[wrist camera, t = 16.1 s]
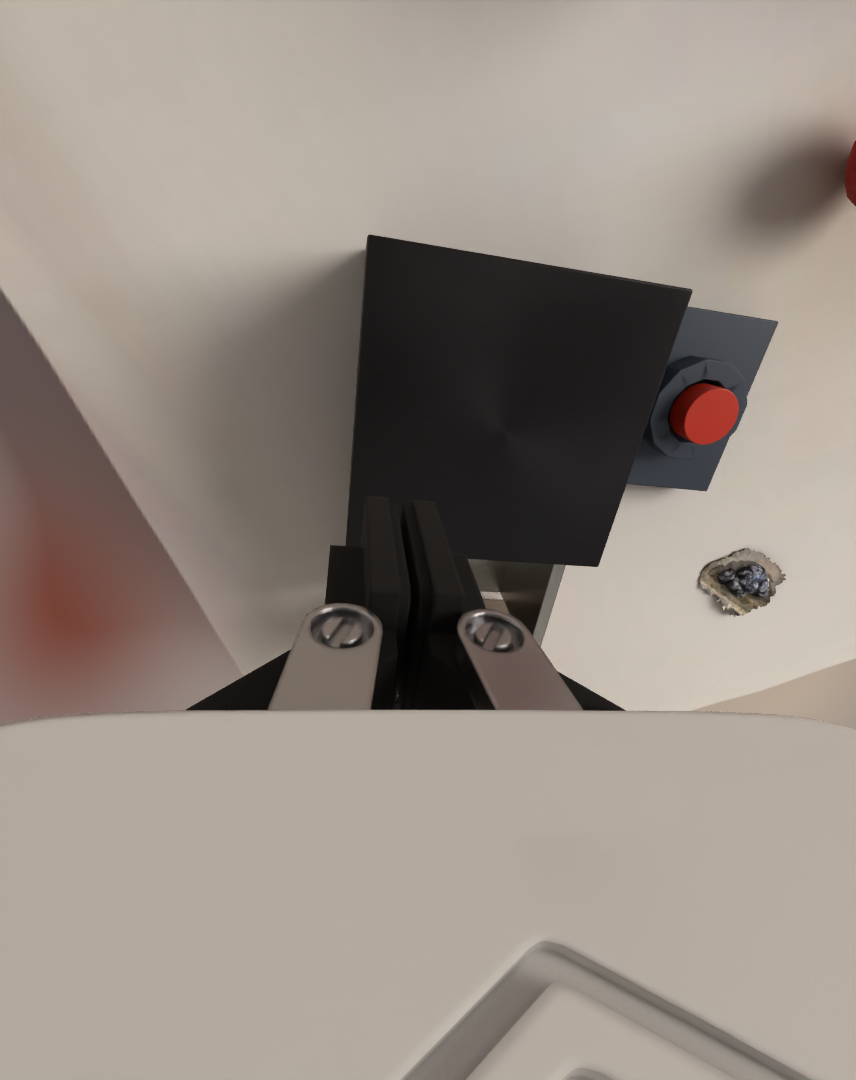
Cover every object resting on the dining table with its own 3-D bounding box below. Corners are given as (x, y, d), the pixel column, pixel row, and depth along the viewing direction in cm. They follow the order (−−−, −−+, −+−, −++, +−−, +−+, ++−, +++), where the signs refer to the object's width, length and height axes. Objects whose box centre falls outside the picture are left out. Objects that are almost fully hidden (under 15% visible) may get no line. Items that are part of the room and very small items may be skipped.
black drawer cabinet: (540, 496, 39) (598, 567, 29) (349, 479, 36) (345, 552, 27) (595, 285, 32) (693, 289, 22) (365, 247, 29) (367, 234, 20)
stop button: (708, 439, 34) (724, 447, 32) (661, 434, 33) (675, 441, 32) (730, 386, 32) (748, 392, 31) (681, 380, 32) (697, 385, 30)
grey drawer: (494, 664, 45) (522, 745, 37) (344, 660, 43) (340, 746, 35) (547, 460, 36) (598, 510, 28) (361, 442, 34) (361, 491, 26)
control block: (690, 480, 39) (721, 500, 36) (585, 470, 38) (608, 490, 34) (755, 319, 34) (800, 323, 31) (637, 299, 33) (670, 302, 29)
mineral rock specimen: (750, 617, 47) (764, 629, 46) (681, 603, 45) (693, 616, 44) (791, 558, 44) (808, 569, 43) (719, 540, 43) (734, 551, 41)
